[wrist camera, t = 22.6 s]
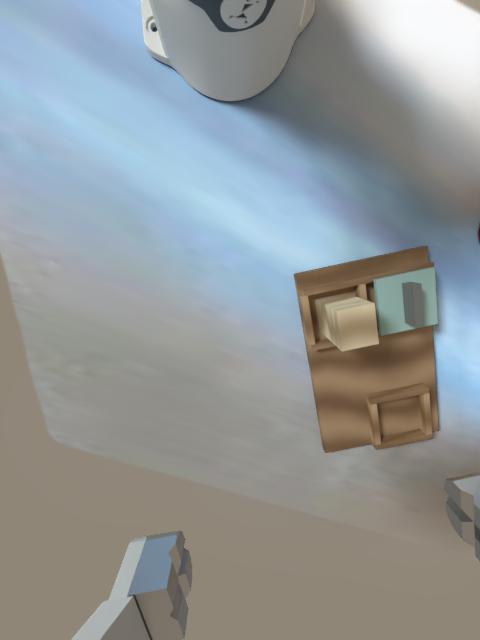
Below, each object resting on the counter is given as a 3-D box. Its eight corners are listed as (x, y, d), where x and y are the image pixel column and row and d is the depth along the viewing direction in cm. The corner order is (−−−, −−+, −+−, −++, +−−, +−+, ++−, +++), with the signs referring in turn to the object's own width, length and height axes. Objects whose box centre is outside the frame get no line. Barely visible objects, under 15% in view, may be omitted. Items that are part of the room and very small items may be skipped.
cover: (373, 279, 35) (384, 281, 33) (431, 267, 35) (448, 268, 32) (379, 334, 37) (390, 341, 34) (434, 322, 37) (450, 328, 34)
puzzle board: (293, 273, 38) (297, 275, 35) (421, 246, 38) (435, 245, 35) (322, 447, 44) (328, 460, 41) (433, 425, 44) (446, 436, 41)
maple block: (315, 299, 38) (336, 311, 30) (345, 292, 38) (374, 303, 30) (320, 331, 39) (342, 351, 31) (349, 325, 39) (379, 343, 31)
